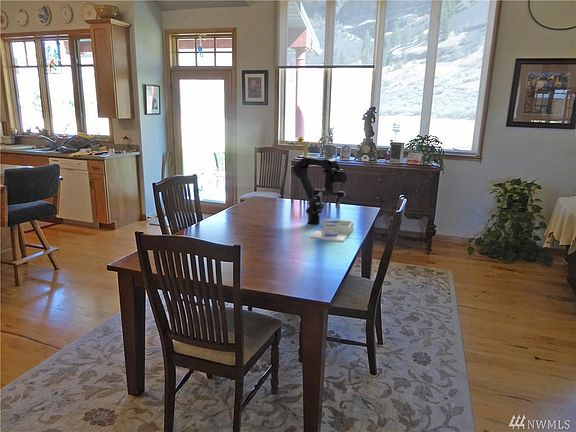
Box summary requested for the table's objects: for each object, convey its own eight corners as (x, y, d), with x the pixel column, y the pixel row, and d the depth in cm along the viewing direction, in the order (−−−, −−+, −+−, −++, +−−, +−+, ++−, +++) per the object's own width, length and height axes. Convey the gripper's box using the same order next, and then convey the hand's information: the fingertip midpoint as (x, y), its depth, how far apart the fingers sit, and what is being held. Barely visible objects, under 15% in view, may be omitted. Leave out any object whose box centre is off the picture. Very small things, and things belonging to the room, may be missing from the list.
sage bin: (322, 232, 231) (323, 224, 230) (328, 226, 244) (329, 218, 242) (348, 236, 227) (349, 227, 225) (353, 229, 239) (353, 221, 238)
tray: (310, 237, 222) (310, 236, 221) (316, 232, 232) (316, 230, 232) (343, 242, 216) (343, 240, 216) (347, 236, 226) (347, 234, 226)
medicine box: (324, 236, 221) (324, 221, 218) (321, 234, 225) (321, 219, 223) (337, 236, 223) (338, 220, 220) (334, 233, 227) (335, 218, 225)
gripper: (310, 181, 232) (309, 208, 236) (342, 184, 226) (340, 212, 230) (315, 179, 242) (314, 204, 246) (346, 181, 236) (345, 207, 240)
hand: (328, 207), depth 240 cm, fingers open, 9 cm apart
